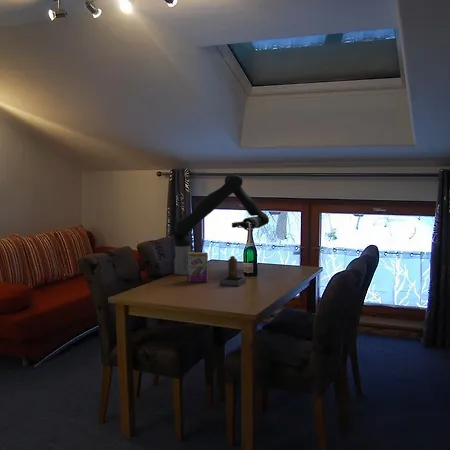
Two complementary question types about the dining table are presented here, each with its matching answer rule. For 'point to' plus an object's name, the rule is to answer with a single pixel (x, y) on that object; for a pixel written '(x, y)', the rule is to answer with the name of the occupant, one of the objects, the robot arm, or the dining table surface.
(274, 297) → the dining table surface
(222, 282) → the tray
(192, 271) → the candy bar box
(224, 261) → the dining table surface
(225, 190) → the robot arm
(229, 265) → the pepper mill
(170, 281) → the dining table surface
